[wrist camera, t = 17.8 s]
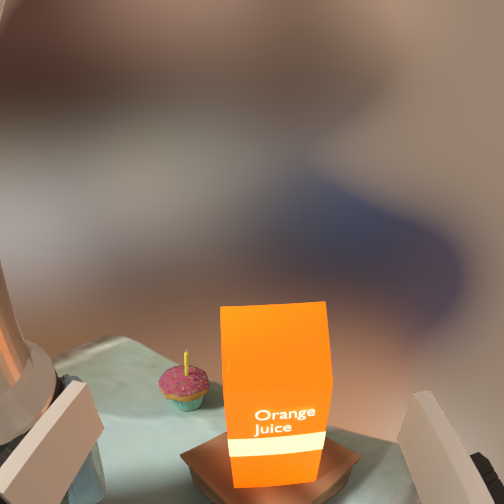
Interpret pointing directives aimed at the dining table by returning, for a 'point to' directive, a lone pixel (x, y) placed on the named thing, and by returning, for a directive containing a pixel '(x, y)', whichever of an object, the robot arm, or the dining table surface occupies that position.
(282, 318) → the orange juice
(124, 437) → the dining table surface
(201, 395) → the cupcake
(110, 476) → the dining table surface
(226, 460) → the walnut riser
